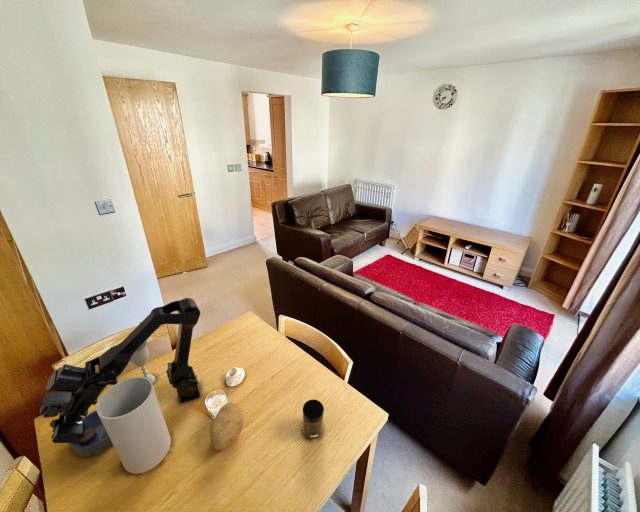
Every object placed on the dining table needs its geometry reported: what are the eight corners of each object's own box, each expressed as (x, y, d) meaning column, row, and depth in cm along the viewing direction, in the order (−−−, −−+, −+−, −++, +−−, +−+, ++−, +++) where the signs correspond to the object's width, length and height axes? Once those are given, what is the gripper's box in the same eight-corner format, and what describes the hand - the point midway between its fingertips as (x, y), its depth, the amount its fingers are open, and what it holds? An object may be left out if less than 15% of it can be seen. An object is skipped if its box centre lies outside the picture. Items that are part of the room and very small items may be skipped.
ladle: (96, 427, 88) (83, 402, 83) (96, 439, 85) (82, 413, 80) (65, 442, 84) (49, 416, 79) (63, 454, 81) (47, 429, 75)
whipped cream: (238, 390, 104) (238, 382, 102) (221, 387, 104) (220, 379, 102) (246, 372, 111) (246, 364, 108) (230, 369, 111) (230, 361, 109)
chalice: (148, 390, 102) (135, 355, 94) (132, 387, 103) (118, 351, 95) (162, 374, 108) (151, 340, 100) (147, 371, 109) (135, 337, 102)
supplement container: (319, 417, 95) (320, 397, 90) (325, 436, 89) (326, 416, 84) (300, 422, 93) (300, 402, 88) (305, 442, 87) (305, 422, 82)
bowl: (128, 408, 95) (125, 401, 94) (120, 445, 84) (117, 437, 83) (81, 422, 90) (77, 415, 89) (67, 464, 79) (61, 456, 78)
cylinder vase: (138, 485, 75) (111, 428, 65) (115, 458, 81) (87, 402, 70) (179, 445, 85) (162, 390, 74) (157, 423, 91) (137, 369, 80)
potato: (204, 457, 82) (200, 441, 79) (220, 413, 95) (217, 398, 91) (236, 459, 82) (233, 443, 78) (248, 414, 95) (246, 399, 91)
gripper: (61, 363, 81) (26, 405, 81) (49, 415, 67) (6, 466, 67) (102, 371, 89) (70, 409, 88) (98, 419, 75) (61, 465, 74)
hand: (53, 434), depth 79 cm, fingers closed, pressing on ladle
